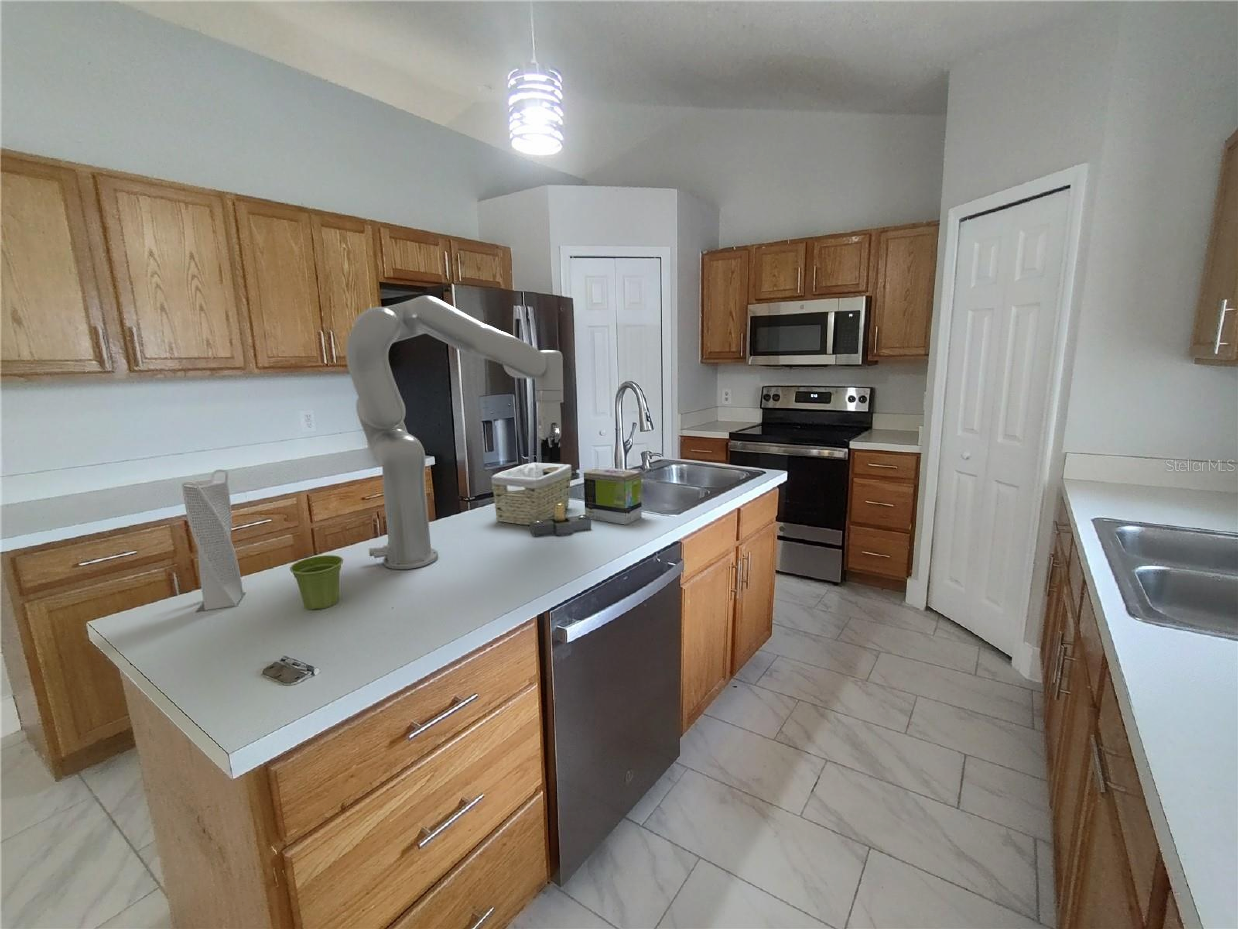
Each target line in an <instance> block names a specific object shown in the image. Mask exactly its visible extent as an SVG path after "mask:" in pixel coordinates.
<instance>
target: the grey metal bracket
mask: <svg viewBox="0 0 1238 929" xmlns="http://www.w3.org/2000/svg"><path fill="white" fill-rule="evenodd" d="M590 530H592V519H590V518H589V517H588V516H587V515H585V514H579V515H573V516H566V522H563V523H555V516H552V517H549V519H545V520H534V521H530V525H529V532H530V533H531V535H532V537H542V536H550V534H551V535H555V534H556V535H555V536H556V537H558V536H559V535H560V536H566V535H567V534H568V535H573V533H574V532H581V531H582V532H583V531H590Z"/></svg>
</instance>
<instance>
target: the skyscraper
mask: <svg viewBox="0 0 1238 929" xmlns="http://www.w3.org/2000/svg"><path fill="white" fill-rule="evenodd" d="M217 473H224V474H225V475H224V476H225V478H224V481H221V480H220V481H219V480H214V477H215V475H216V474H217ZM228 479H229V472H228V471H226V470H224V469H216V470H214V471H213V472H212V473H211V476H210V477H206V478H204V477H203V478H199V479H196V480H195V482H188V481H187V482H183V483H182V484H181V489H182V494H183V496H182V497H183V501H184V507H185V511H186V518H187V522H188V524H189V528H190V532H191V534H192V538H193V540H194V543H195V545H196V547H197V559H198V563H197V564H198V572H199V581H200V587H201V593H202V600H203V601H202V603H201V604H200V605H199V607H197V609H196V611H195V613H200V612H209V611H215V610H222V609H227V608H229V609H230V608H234V607H235V608H236V607H238V605H239V604H240V603H241V601H242V599H243V598H244V597H245V595H246V592H245V591H244V590H243V589H244V588H243V582H242V577H241V571H240V567H239V561H238V558H237V553H236V550H235V548H234V544H233V541H232V539H231V532H232V516H233V515H232V506H231V504H232V503H231V495H230V489H229V483H228Z"/></svg>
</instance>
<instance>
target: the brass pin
mask: <svg viewBox="0 0 1238 929" xmlns="http://www.w3.org/2000/svg"><path fill="white" fill-rule="evenodd" d="M566 512H567V509H566V505H565V502H556V503H554V515H555V516H554V517H555V523H563V522H566V517H567V513H566Z"/></svg>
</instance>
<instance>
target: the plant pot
mask: <svg viewBox="0 0 1238 929" xmlns="http://www.w3.org/2000/svg"><path fill="white" fill-rule="evenodd" d="M343 563H344V558H343V557H341V556H340V555H333V554H329V555H317V556H312V557H309V558H304V559H301V560H299V561H297V562H294V563H293V564H291V566H290V567H289V570H290V572H291V573H292V575H293V576H294V578H295V579H296V582H297V586H298V589H299V592H300V595H301V598H302V602H303V605H304V607H305V609H307V610H311V611H312V610H315V609H320V610H323V609H327V608H329V607H332V606H334V605H335V604H337V602H338V600H339V594H340V593H339V592H340V571H341V568H342V564H343Z"/></svg>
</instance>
